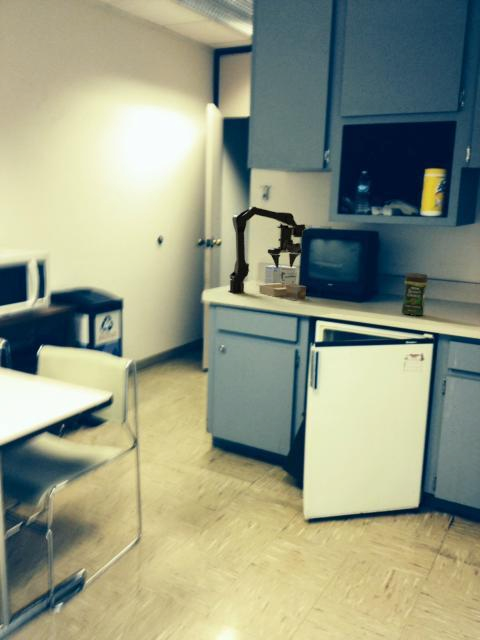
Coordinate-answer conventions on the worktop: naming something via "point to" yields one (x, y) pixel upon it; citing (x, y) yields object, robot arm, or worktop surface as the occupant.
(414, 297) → the coffee jar
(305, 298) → the mat
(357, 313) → the worktop surface
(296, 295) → the gray and brown box
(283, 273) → the ink box
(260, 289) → the beige open box
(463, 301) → the worktop surface
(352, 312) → the worktop surface
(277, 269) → the light bulb box
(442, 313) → the worktop surface
